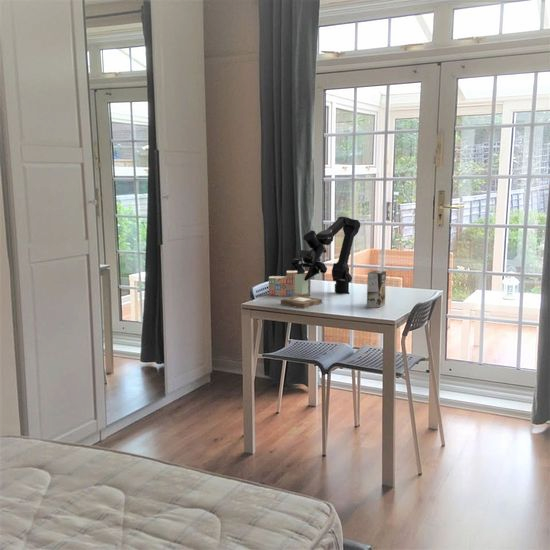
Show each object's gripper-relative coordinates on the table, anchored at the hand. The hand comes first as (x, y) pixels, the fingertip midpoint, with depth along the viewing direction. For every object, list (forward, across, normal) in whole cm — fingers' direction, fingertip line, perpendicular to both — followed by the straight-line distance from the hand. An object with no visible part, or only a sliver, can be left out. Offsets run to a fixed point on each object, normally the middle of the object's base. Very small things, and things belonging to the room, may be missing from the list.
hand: (301, 279), depth 292 cm
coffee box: (-6, +30, +23) cm, 38 cm away
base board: (+8, 0, +8) cm, 12 cm away
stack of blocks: (-1, -18, +18) cm, 26 cm away
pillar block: (+4, 0, +5) cm, 7 cm away
